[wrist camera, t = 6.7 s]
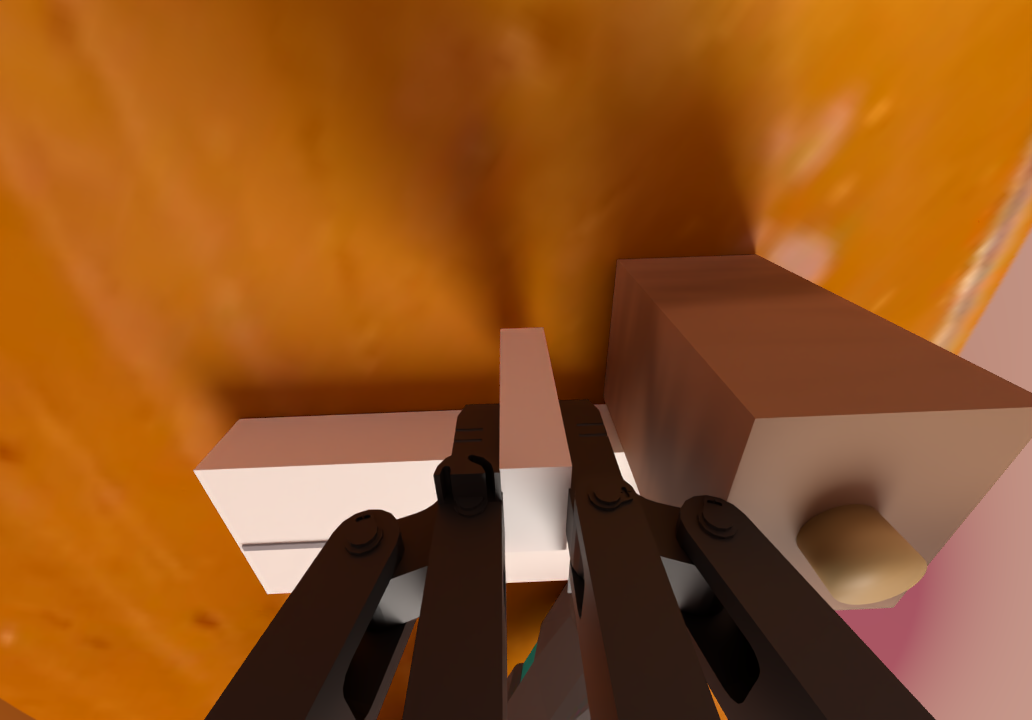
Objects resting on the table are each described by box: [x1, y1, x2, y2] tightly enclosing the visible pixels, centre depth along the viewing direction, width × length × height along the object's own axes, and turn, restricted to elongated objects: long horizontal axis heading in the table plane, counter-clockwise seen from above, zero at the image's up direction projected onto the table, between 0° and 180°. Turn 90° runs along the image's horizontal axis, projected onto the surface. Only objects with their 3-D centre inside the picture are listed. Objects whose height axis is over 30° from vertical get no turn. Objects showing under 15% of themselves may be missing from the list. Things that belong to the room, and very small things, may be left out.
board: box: [193, 404, 640, 594], centre depth 18 cm, size 8×22×3 cm, turn 92°
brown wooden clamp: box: [603, 254, 1032, 610], centre depth 14 cm, size 15×5×10 cm, turn 2°
